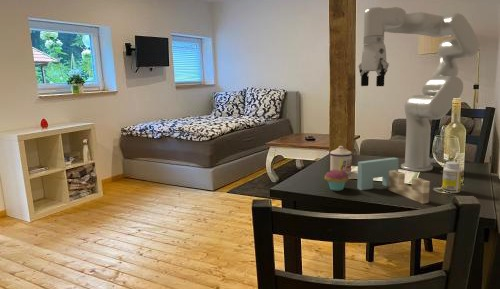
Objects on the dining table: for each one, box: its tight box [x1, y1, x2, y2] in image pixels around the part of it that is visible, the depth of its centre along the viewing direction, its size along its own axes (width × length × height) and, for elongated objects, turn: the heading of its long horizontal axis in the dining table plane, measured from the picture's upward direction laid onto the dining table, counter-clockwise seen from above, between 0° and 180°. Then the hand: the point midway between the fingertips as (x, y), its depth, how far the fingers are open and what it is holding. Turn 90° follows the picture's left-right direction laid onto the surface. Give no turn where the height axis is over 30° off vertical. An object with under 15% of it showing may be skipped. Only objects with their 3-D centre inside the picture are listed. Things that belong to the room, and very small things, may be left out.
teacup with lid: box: [329, 145, 353, 176], centre depth 157 cm, size 12×9×12 cm
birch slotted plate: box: [388, 170, 431, 205], centre depth 125 cm, size 16×2×7 cm, turn 19°
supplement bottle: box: [441, 160, 462, 194], centre depth 128 cm, size 6×6×10 cm
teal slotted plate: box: [356, 157, 400, 191], centre depth 136 cm, size 16×2×10 cm, turn 109°
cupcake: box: [324, 157, 349, 191], centre depth 135 cm, size 9×8×12 cm
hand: (372, 86), depth 146 cm, fingers open, 9 cm apart
